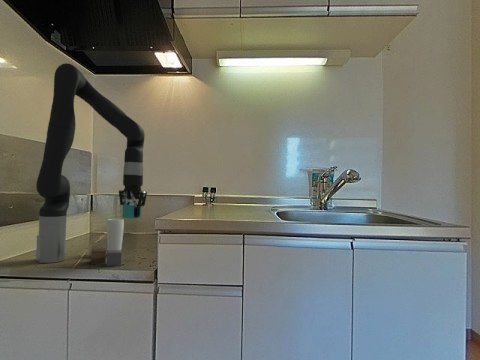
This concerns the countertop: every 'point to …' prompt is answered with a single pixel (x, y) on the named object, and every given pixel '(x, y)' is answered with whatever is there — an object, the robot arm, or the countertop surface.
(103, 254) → the walnut block
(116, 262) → the charcoal block
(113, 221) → the drinking glass
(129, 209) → the teal block
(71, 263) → the countertop surface
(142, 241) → the countertop surface
